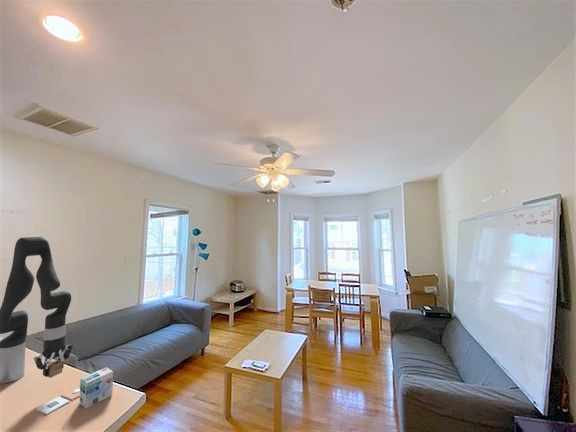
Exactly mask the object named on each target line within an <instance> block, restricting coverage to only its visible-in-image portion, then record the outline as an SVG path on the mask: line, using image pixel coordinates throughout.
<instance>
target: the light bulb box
mask: <svg viewBox="0 0 576 432" xmlns="http://www.w3.org/2000/svg"><path fill="white" fill-rule="evenodd" d="M113 381H114V371H113V370H112V369H110V368H108V367H107V366H106V367H104V368H102V369H100V370H97V371H95V372H93V373H90V374H87V375H85V376H83V377H81V378H80V381H79V383H80V384H79V385H80V396H79V404H80V405H81V406H82V407H83V408H84V409H88V408H89V407H92V406H93V405H96V404H98V403H99V402H102V401H104V400H106V399H108V398H110V397H113V387H114V385H113V384H114V383H113Z"/></svg>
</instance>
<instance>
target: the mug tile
mask: <svg viewBox="0 0 576 432" xmlns="http://www.w3.org/2000/svg"><path fill="white" fill-rule="evenodd" d="M60 397H61V398H64V399H67V400H69V401H74V400H76V399H78V398H80V384H79V385H77V386H76V387H73V388H72V389H70V390H68V391H66V392H64V393H62V394H60ZM77 397H78V398H77ZM75 398H76V399H75Z"/></svg>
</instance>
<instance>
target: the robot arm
mask: <svg viewBox="0 0 576 432" xmlns="http://www.w3.org/2000/svg"><path fill="white" fill-rule="evenodd" d="M33 256H40V258H41V262H40V265H39V266H38V269H37V270H36V275H35V276H34V275H33V273H32V272H31V270H30V269H29V268H28V266H27V265H26V260H27V257H33ZM12 257H13V259H12V265H11V269H10V273H9V275H8V279H7V283H6V287H5V292H4V296H3V300H2V303H1V306H0V335H2V334H3V335H4V334H8V333H10V334H9V335H7V336H6V337H4V338H3V339H1V340H0V385H1V384H3V385H4V384H9V383H12V382H15V381H17V380H20V379H21V378H23V377H25V370H26V369H25V367H26V345H27V344H26V342H27V341H26V340H27V339H26V338H27V336H28V326H29V325H28V324H29V316H28V315H29V314H28V313H27V311H26V310H24V309H23V310H17V311H14V310H15V309H16V308H17V307H18V306H19V305H20V303H22V302H23V301H24V299H26V298H27V297H28V296H29V295H30V294H31V292H32V289H33V287H34V283H35V279H36V281H37V284H38V287H39V289H40V301H39V302H40V307H41V308H42V309H43V310H45V311H49V310H53V312H51V313H49V314H47V315H46V316H45V318H44V319H45V322H44V331H43V342H42V343H43V344H42V345H43V346H42V347H43V348H42V349H43V350H42V352H41V354H40V355H39V356H35V357H34V358H33V360H34V362H35V366H36V367H37V369H39V370H41V371H42V376H43V377H45V378H49V377H48V376H49V365H50V363H51V362H52V361H53V360H54V359H57V360H59V361H62V362H63V364H62V369H64V364H65V361H66V360H68V359H69V358H70V355H71V352H72V349H73V345H72V344H66V336H67V335H66V333H67V332H66V331H67V328H66V321H67V320H66V316H67V313H68V311H69V307H70V306H71V305H70V304H71V302H72V294H71V293H70V292H69V291H67V290H62V291H57V292H54V291H56V290H57V289H59V288H60V287H61V282H60V280H59V278H58V275H57V272H56V269H55V267H54V266H55V265H54V261H53V256H52V251H51V247H50V243H49V240H48V239H47V238H46V237H44V236H26V237H20V238H18V239H17V240H16V242H15V246H14V251H13V256H12ZM52 292H53V293H52ZM54 309H55V310H54ZM63 352H64V353H63ZM43 358H44V360H43Z"/></svg>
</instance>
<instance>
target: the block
mask: <svg viewBox="0 0 576 432" xmlns="http://www.w3.org/2000/svg"><path fill="white" fill-rule="evenodd" d="M62 364H63V362H62V361H59V360H58V359H55V360H54V359H53V360H52V362H51V363H50V365H49V376H48V377H47V378H49V379H51V378H53V377H56V376H57V375H60V374H61V373H63V368H62Z"/></svg>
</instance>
